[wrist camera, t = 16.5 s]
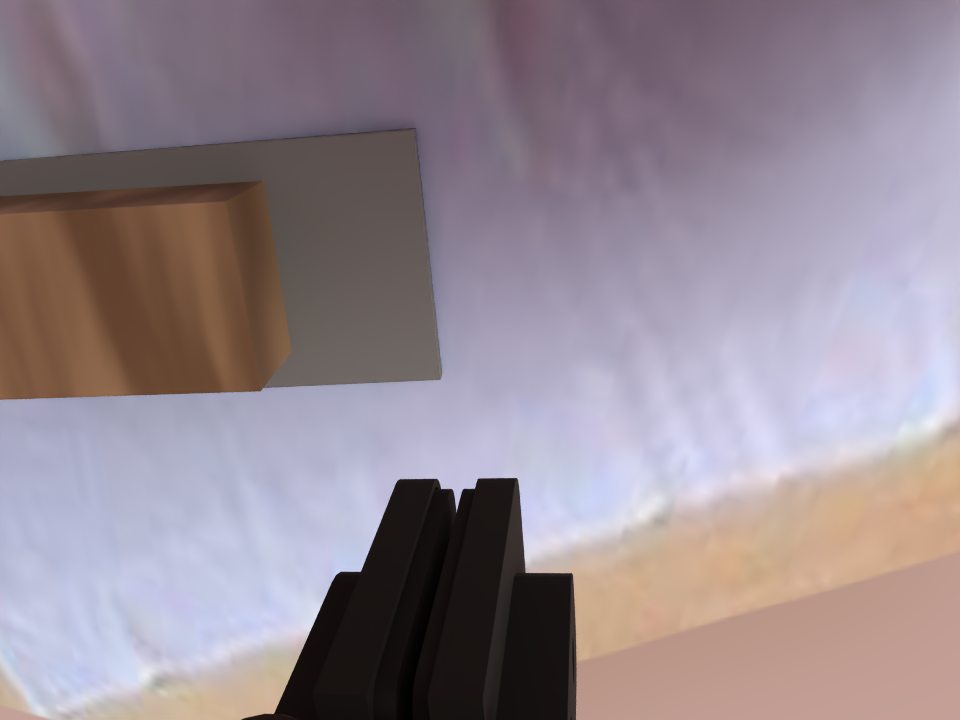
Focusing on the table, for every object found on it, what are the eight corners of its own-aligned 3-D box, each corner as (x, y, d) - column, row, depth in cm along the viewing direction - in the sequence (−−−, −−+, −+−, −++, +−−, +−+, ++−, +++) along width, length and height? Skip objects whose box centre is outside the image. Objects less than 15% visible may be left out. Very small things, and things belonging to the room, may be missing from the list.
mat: (415, 128, 31) (412, 130, 30) (442, 373, 35) (440, 379, 34) (-31, 163, 33) (-41, 165, 32) (39, 392, 37) (31, 398, 36)
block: (225, 201, 28) (-104, 220, 29) (260, 391, 30) (-43, 401, 32) (263, 180, 32) (-30, 197, 33) (292, 351, 34) (19, 361, 35)
